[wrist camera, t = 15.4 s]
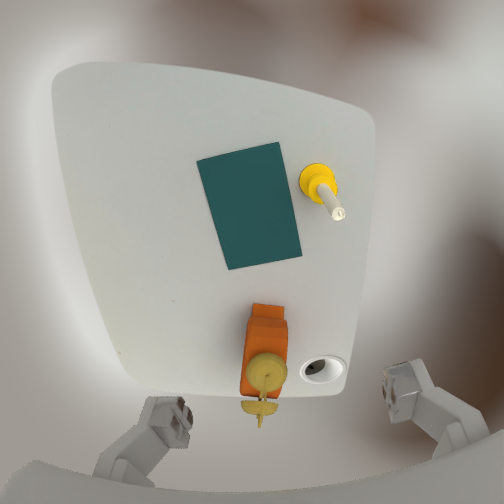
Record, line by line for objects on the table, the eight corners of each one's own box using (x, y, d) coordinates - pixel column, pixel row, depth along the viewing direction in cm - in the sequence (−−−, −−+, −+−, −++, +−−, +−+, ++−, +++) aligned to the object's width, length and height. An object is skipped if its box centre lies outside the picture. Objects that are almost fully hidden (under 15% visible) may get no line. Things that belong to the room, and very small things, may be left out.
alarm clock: (251, 295, 54) (242, 386, 36) (286, 299, 54) (292, 390, 36) (243, 351, 59) (234, 437, 41) (274, 354, 59) (275, 441, 41)
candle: (326, 157, 43) (354, 183, 29) (339, 189, 45) (370, 229, 31) (293, 171, 44) (306, 203, 30) (307, 203, 46) (324, 248, 32)
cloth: (197, 161, 44) (196, 161, 44) (278, 141, 42) (278, 142, 42) (228, 268, 52) (228, 270, 51) (302, 255, 50) (302, 256, 49)
